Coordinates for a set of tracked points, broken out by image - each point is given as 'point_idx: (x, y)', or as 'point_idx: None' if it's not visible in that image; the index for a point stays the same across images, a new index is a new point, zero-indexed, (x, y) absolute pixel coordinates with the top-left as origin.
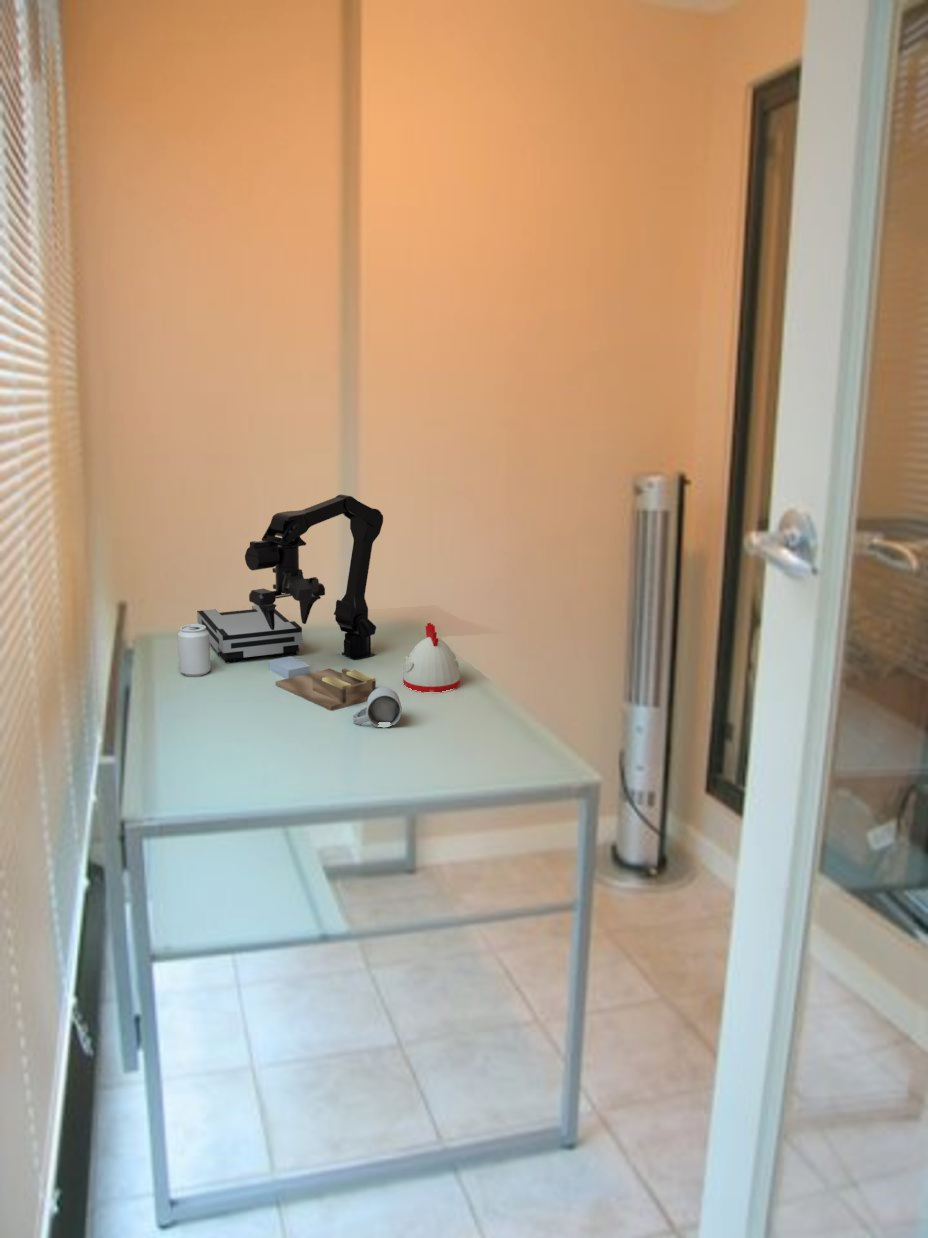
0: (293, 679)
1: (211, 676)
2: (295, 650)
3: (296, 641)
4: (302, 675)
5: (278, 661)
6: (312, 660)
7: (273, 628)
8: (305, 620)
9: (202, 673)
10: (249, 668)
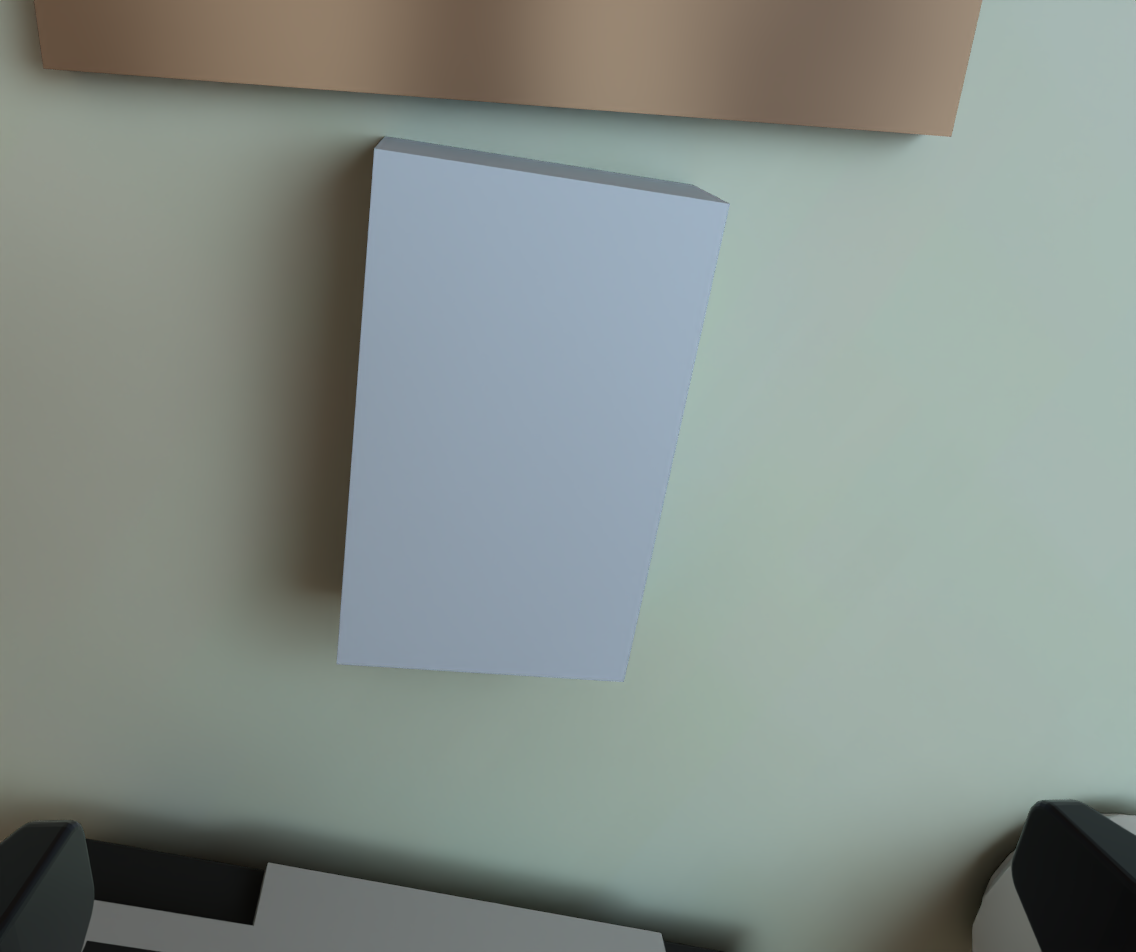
0: (749, 30)
1: (1072, 758)
2: (112, 852)
3: None
4: (555, 85)
5: (579, 585)
6: (29, 609)
7: (1090, 816)
8: (3, 890)
9: (1126, 815)
10: (710, 755)
